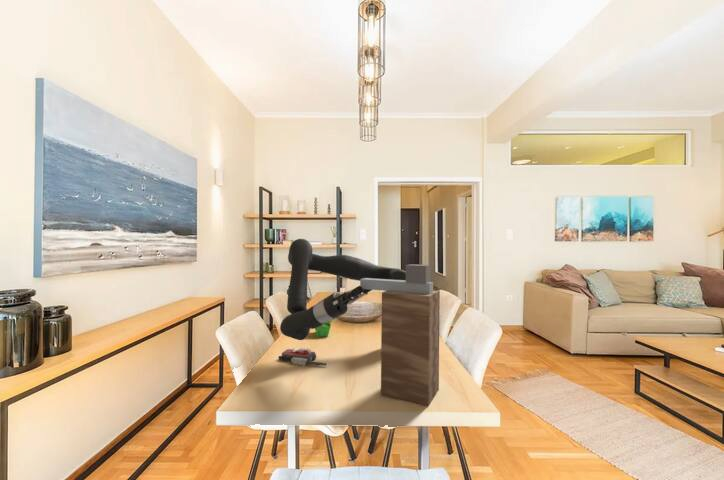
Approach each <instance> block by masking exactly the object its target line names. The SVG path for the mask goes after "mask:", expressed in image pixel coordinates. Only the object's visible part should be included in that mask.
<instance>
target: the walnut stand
mask: <svg viewBox="0 0 724 480" xmlns="http://www.w3.org/2000/svg"><path fill="white" fill-rule="evenodd" d="M440 296H441V293H440V290H434V289H433V293H431V294H421V293H408V292H395V291H383V292H381V332H380V333H381V334H380V335H381V336H380V337H381V340H380V341H381V344H380V345H381V347H380V348H381V349H380V356H381V357H380V358H381V359H380V397H383V398H389V399H393V400H397V401H401V402H406V403H411V404H414V405H420V406H423V407H429V406H430V405H431V403H432V402H433V400H434V399H435V396H436V395H437V393H438V392H439V390H440V305H441V304H440V303H441V302H440V301H441V299H440Z"/></svg>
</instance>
